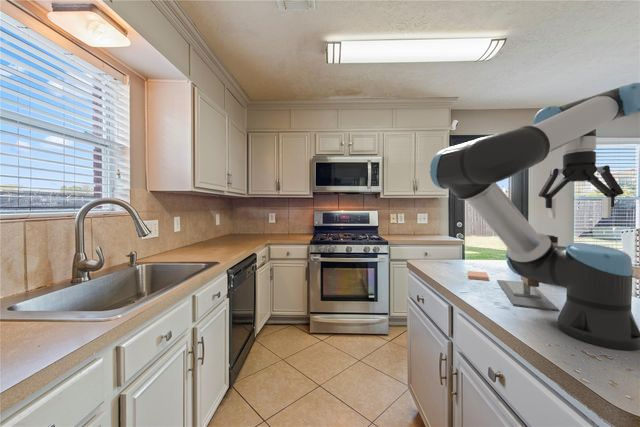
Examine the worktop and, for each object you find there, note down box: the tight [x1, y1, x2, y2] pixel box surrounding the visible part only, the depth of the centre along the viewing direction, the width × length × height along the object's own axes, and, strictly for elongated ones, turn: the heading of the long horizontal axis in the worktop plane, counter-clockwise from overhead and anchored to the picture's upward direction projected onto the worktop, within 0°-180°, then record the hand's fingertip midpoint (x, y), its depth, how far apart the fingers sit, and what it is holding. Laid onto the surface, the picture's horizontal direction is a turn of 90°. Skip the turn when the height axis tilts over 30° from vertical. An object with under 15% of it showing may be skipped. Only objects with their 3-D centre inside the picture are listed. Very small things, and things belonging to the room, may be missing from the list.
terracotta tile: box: [467, 270, 489, 281], centre depth 122 cm, size 2×8×9 cm
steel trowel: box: [504, 276, 541, 299], centre depth 98 cm, size 23×8×9 cm, turn 154°
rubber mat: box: [496, 279, 560, 312], centre depth 99 cm, size 30×12×1 cm, turn 154°
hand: (578, 218), depth 84 cm, fingers open, 13 cm apart
